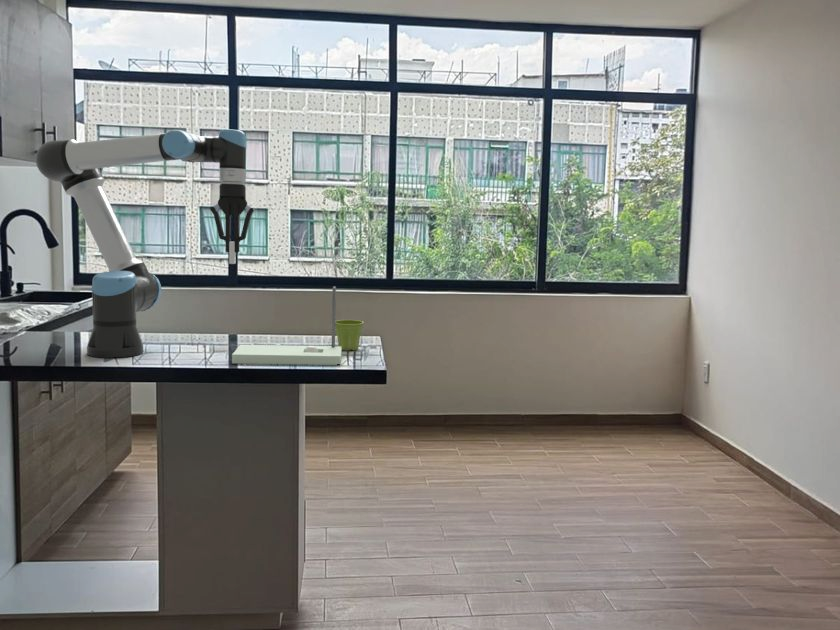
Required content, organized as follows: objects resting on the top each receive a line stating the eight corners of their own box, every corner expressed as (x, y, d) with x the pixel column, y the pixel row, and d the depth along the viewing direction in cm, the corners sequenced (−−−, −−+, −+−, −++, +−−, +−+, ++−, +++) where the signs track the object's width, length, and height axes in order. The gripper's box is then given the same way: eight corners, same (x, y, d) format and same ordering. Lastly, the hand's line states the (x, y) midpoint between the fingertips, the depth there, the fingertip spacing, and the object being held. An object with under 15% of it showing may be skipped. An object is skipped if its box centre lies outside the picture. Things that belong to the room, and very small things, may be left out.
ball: (306, 345, 219) (319, 349, 220) (307, 342, 223) (320, 347, 224) (302, 358, 220) (315, 362, 220) (303, 355, 224) (316, 359, 224)
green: (232, 363, 212) (232, 289, 210) (242, 350, 232) (242, 283, 229) (340, 364, 215) (341, 292, 213) (341, 352, 234) (342, 285, 232)
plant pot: (355, 352, 235) (356, 324, 234) (328, 350, 238) (328, 322, 237) (368, 348, 244) (368, 321, 243) (341, 345, 247) (341, 319, 246)
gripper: (207, 182, 221) (207, 263, 224) (253, 183, 222) (252, 265, 225) (212, 183, 229) (212, 262, 232) (256, 184, 230) (256, 263, 233)
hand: (232, 263), depth 229 cm, fingers closed
